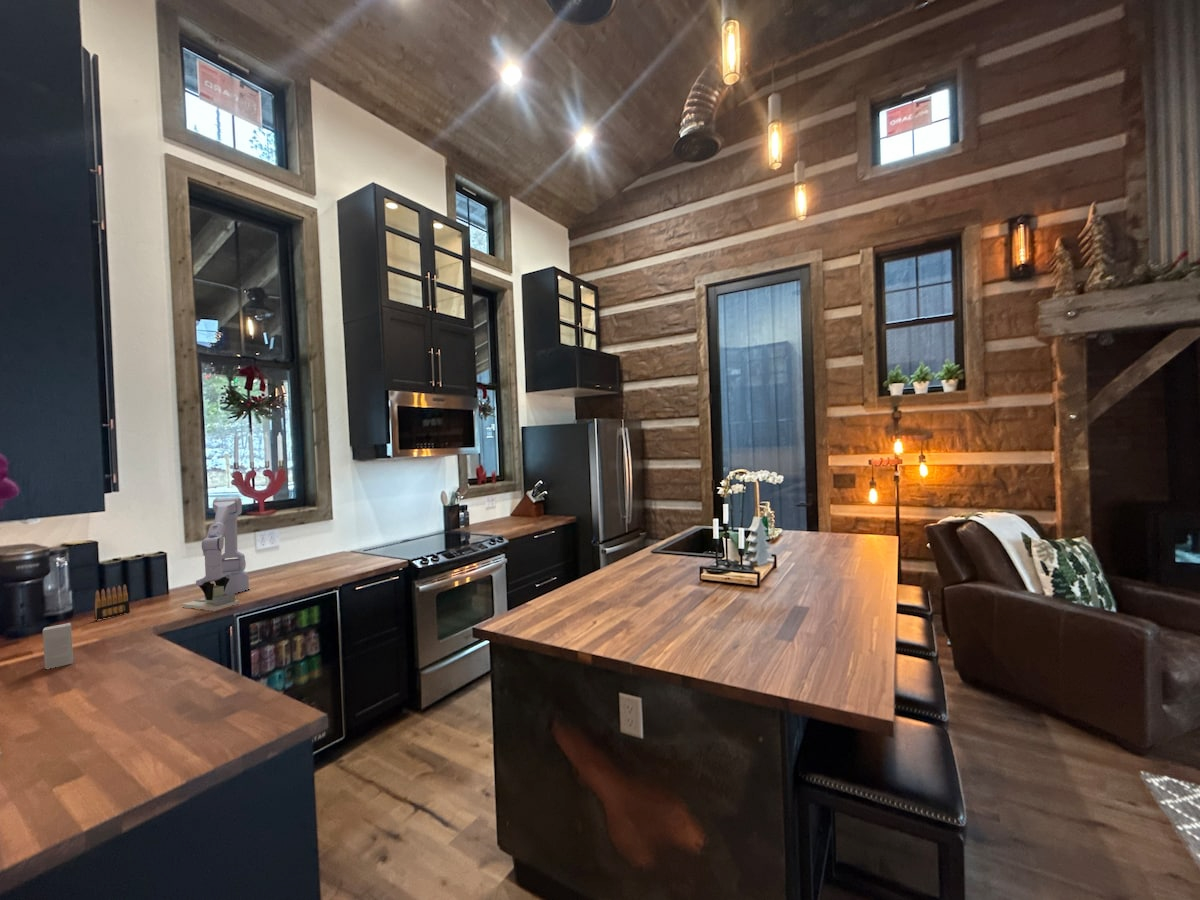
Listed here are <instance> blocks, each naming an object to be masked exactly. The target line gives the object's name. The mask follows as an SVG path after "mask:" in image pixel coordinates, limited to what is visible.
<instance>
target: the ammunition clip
mask: <svg viewBox="0 0 1200 900" xmlns="http://www.w3.org/2000/svg"><path fill="white" fill-rule="evenodd" d="M127 588H128V587H127V585H126V584H125V583H124V584H123V587H121V586H120V585H118V587H117V589H116V587H115V586H113V587H112V588H110V587H107V589H106V592H105V589H104V588H102V589H101V591H100V592H101V593H100V592H99V590H98V589H96V591H95V595H94V596H95V600H94V615H93V616H94V617H93V618H94V619H97V620H98V619H103V618H108V617H112V616H116V615H120V614H124V613H127V614H129V613H128V612H130V613H131V611H130V601H129V594H128V589H127ZM111 589H112V590H111ZM116 590H117V591H116ZM124 615H125V614H124ZM120 616H121V615H120ZM116 617H117V616H116ZM112 618H113V617H112ZM94 619H93V620H94ZM108 619H109V618H108Z"/></svg>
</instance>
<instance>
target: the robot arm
mask: <svg viewBox="0 0 1200 900" xmlns="http://www.w3.org/2000/svg"><path fill="white" fill-rule="evenodd" d="M242 507H243V502H242V499H241V497H240V496H234V497H221V498H220V497H215V498H214V499H213V501H212V508H213V511H214V513H215V517H214V520H213V521H214V522H213V523H211V524H210V525H209V527H208V531H207V534H206V537H205V538H204V539H202V541H201V551H202V556H203V557H204V571H205V573H204V574H205V576H203V577H202V578H200V579H197V580H195V586H198V587H199V589H201V591H202V592H203V595H204V594H205V597H206V600H212V598H213V587H214V585H215V586H224V594H228V593H236V594H239V593H238V592H240V593H243V592H246V591H245V590H247V591H249V590H248V589H250V583H249V582H250V581H249V575H248V572H247V571H245V569H246V566H247V565H246V563H247V561H246V557H245V554H244V553H242V552H240V551H238V518H239V517H238V516H240V515H241V514H242V512H243V508H242ZM223 548H224V549H223ZM222 550H224V553H223V551H222ZM212 582H214V583H212ZM242 591H243V592H242Z"/></svg>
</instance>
